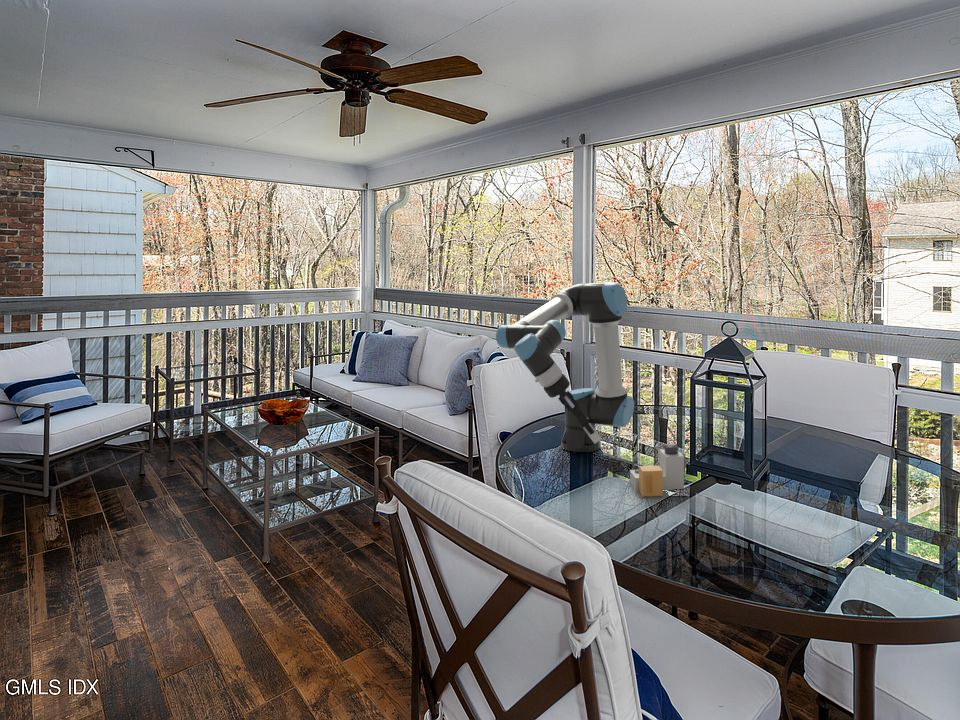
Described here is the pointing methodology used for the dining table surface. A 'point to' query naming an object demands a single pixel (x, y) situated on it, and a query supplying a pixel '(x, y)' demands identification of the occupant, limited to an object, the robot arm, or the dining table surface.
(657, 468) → the orange wooden block
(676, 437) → the dining table surface
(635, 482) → the white small appliance
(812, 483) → the dining table surface
